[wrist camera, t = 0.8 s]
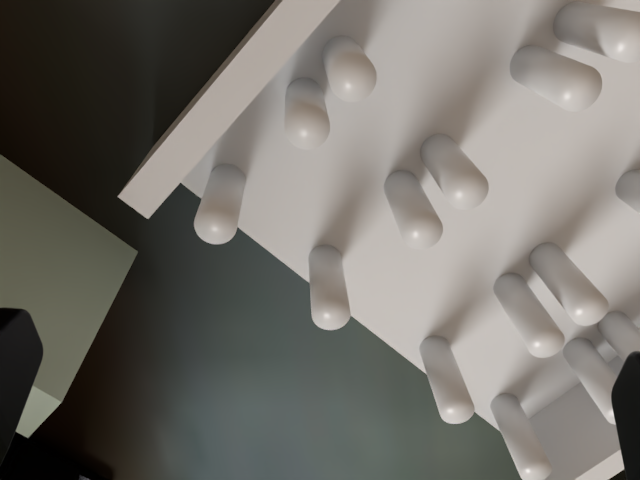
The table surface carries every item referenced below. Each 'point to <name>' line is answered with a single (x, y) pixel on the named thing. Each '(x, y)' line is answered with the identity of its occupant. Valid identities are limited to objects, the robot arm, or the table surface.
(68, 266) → the green square slab
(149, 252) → the table surface
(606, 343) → the dish rack
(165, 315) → the table surface
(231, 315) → the table surface
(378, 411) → the table surface
